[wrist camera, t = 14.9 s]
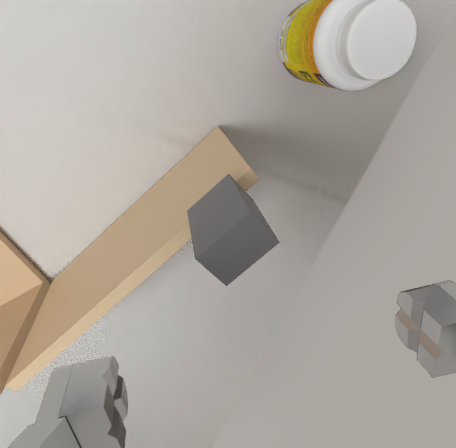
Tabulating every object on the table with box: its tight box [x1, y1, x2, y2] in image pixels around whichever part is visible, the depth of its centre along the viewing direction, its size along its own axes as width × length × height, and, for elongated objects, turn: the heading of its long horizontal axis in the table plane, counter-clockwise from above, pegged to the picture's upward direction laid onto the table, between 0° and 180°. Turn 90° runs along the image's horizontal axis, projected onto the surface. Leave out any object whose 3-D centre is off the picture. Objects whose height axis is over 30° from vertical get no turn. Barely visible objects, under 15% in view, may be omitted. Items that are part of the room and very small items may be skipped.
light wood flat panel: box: [5, 126, 279, 392], centre depth 24 cm, size 20×2×17 cm, turn 131°
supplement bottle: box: [278, 0, 417, 91], centre depth 24 cm, size 6×6×10 cm
